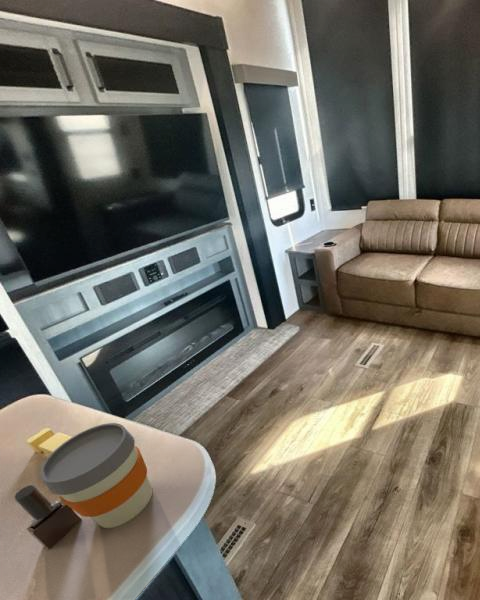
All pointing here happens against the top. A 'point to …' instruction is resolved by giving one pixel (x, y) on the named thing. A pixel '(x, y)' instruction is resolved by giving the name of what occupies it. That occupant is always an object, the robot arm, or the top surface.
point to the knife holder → (55, 526)
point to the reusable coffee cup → (100, 475)
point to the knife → (36, 504)
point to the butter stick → (53, 443)
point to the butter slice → (39, 439)
